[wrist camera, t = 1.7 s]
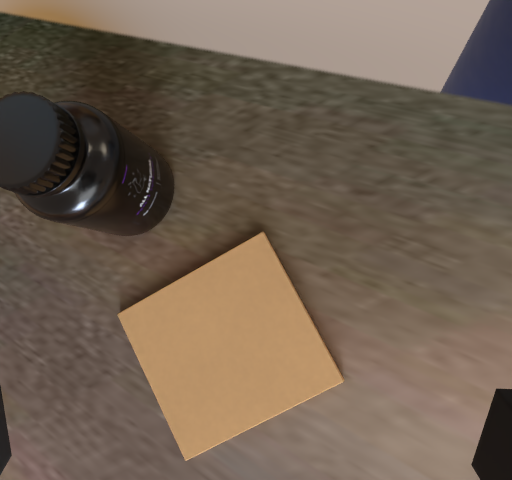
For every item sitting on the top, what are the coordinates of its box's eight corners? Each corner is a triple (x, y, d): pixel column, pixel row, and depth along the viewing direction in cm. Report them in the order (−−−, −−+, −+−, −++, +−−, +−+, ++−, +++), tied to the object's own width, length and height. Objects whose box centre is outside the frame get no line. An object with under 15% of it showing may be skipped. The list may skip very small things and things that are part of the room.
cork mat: (264, 231, 30) (263, 231, 30) (344, 379, 29) (344, 381, 28) (120, 313, 32) (116, 314, 31) (187, 458, 30) (185, 461, 30)
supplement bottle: (192, 210, 31) (103, 172, 20) (111, 252, 32) (-21, 239, 21) (155, 127, 32) (49, 44, 21) (78, 170, 33) (-66, 114, 22)
